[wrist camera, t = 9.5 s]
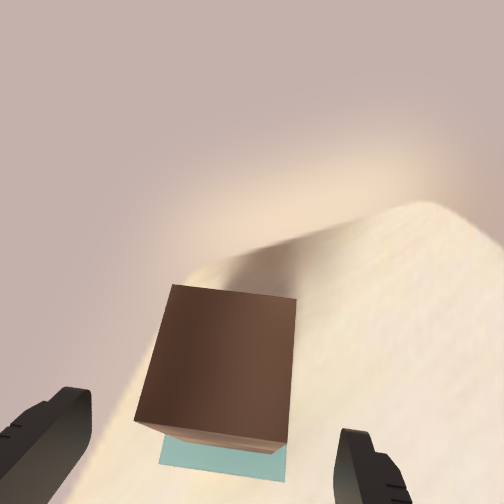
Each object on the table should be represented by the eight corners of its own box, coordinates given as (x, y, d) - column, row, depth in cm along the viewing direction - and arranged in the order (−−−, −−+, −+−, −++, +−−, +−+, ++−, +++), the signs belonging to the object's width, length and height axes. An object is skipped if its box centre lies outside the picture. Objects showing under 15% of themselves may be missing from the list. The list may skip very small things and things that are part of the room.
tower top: (285, 372, 26) (292, 353, 22) (277, 479, 23) (284, 482, 19) (196, 360, 27) (186, 340, 23) (174, 464, 23) (158, 464, 19)
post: (278, 364, 22) (296, 299, 13) (271, 454, 19) (287, 443, 11) (202, 354, 22) (172, 284, 14) (184, 441, 20) (133, 420, 11)
